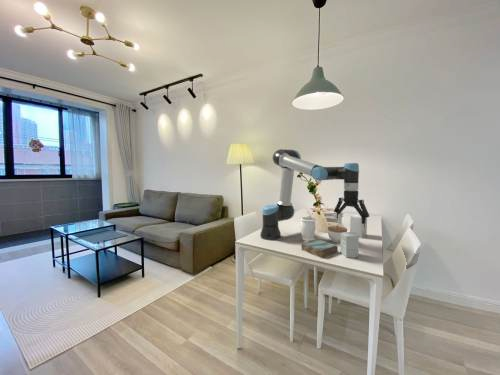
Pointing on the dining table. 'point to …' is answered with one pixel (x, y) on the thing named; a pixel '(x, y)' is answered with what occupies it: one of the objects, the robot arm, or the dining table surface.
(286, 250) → the dining table surface
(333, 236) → the lidded bowl
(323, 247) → the podium
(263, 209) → the robot arm
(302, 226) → the jar
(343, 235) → the supplement box
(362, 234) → the supplement box
